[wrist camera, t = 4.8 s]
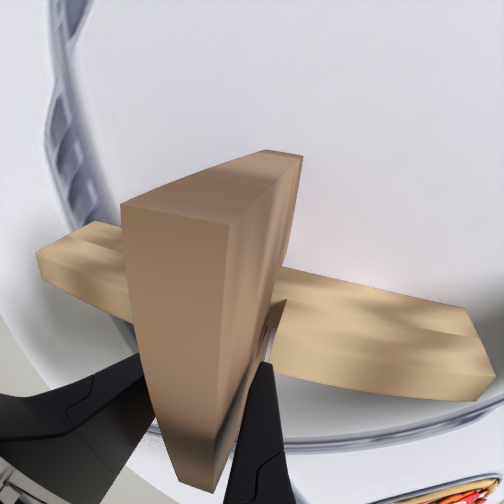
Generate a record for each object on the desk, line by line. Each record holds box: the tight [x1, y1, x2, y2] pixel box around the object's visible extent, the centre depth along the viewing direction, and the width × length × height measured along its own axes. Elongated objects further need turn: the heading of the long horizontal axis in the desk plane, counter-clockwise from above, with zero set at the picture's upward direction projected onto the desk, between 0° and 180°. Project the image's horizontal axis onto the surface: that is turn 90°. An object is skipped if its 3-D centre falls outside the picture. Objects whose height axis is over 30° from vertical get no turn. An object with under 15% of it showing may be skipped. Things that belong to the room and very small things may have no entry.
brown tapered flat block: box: [120, 150, 303, 494], centre depth 10 cm, size 12×2×9 cm, turn 173°
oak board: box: [36, 221, 496, 401], centre depth 12 cm, size 22×2×5 cm, turn 83°
